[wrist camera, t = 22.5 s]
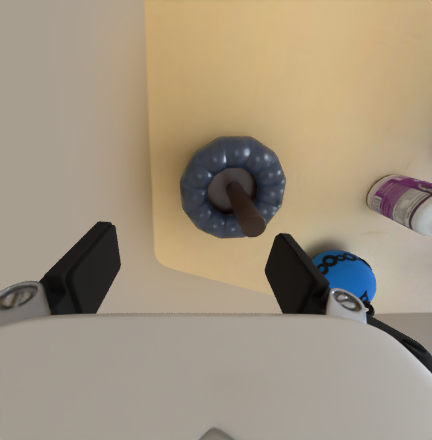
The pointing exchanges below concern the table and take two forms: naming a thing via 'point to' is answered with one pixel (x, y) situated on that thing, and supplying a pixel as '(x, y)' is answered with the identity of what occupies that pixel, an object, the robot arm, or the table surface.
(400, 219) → the pill bottle
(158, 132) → the table surface
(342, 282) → the ornament
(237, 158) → the ring
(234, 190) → the stand
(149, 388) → the robot arm
